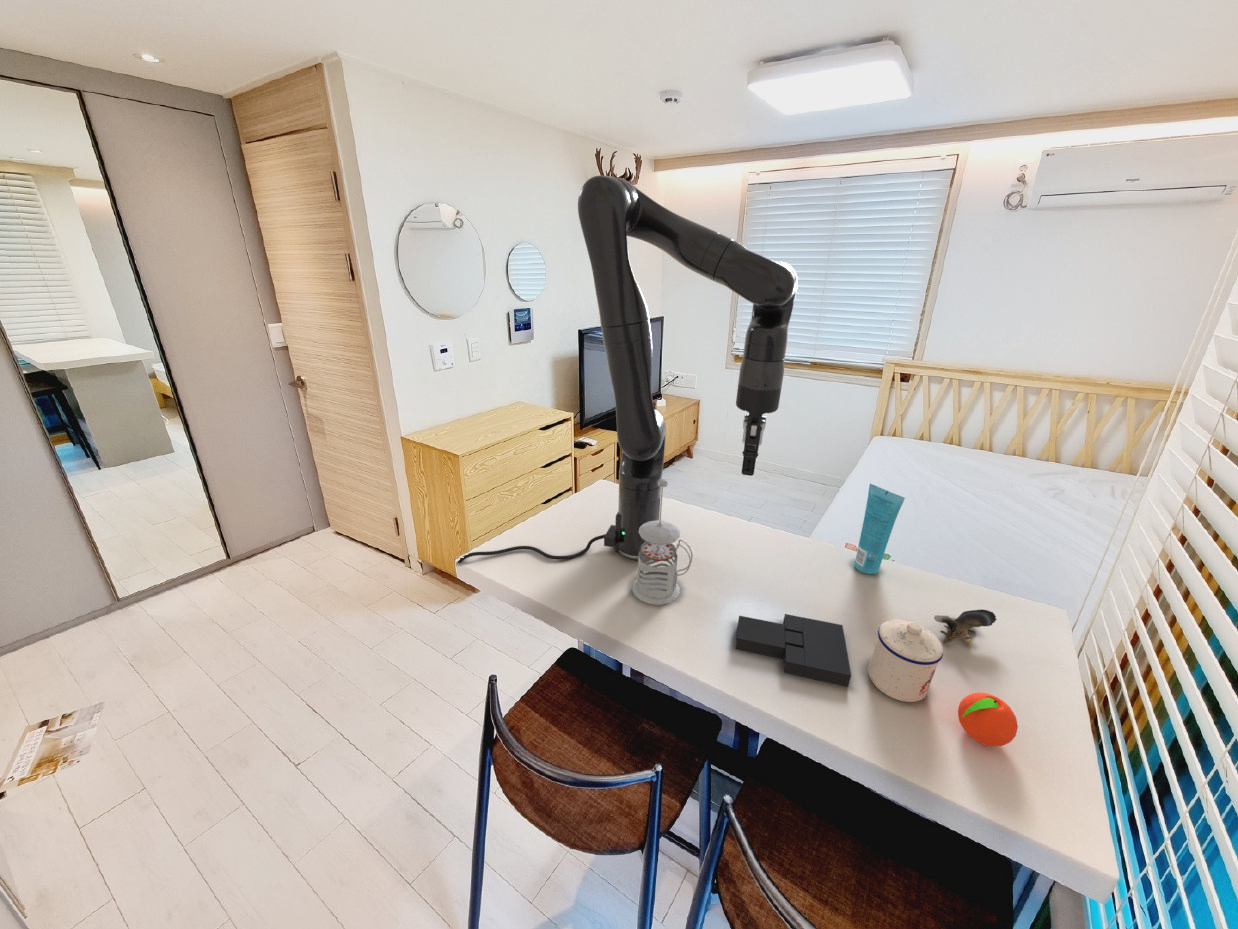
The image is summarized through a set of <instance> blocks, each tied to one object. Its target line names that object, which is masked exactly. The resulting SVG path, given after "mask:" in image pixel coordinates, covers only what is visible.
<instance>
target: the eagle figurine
mask: <svg viewBox="0 0 1238 929" xmlns="http://www.w3.org/2000/svg"><path fill="white" fill-rule="evenodd" d="M933 619H934V621H935V622H937V623H942V624H945V625H943V627H944V628H945V629H946V631H944V630H939V631H940V633H941V634H944V636H945V638H944V640H943V641H942V643H943V644H946V643H951V642H953V641H954V640H958V639H959V640H964V641H965V642H966V643H967V644H968V645H969V646H972V643H971V642H972V637H971V636H970V635H969V633H968V631H972V632H975V633H977V630H976V629H975V628H980V627H991V626H992V625H993V624H994V623H996V621H997V620H998V619H997V615H996V613H995V612H994V611H991V610H987V609H971V610H965V611H963V612H962V613H960V614H959V616H957V617H950V616H949V615H943V614H941V615H940V614H937V615H936V614H935V615H934V616H933Z"/></svg>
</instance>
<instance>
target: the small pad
mask: <svg viewBox="0 0 1238 929" xmlns="http://www.w3.org/2000/svg"><path fill="white" fill-rule="evenodd" d="M736 627H737V629H736V639H735V650H738V651H742V652H743V651H744V652H748V653H752V654H757V655H762V656H766V657H771V658H775V659H781V660H783V656H784V651H785V645H790V646H795V647H800V648H803V637H802V634H801V633H796V632H791V631H786V630H785V627H784V624H783V623H781V622H780V623H779V622H774V621H769V620H765V619H760V618H759V619H758V618H754V617H749V616H744V615H739V616H738V620H737V626H736Z"/></svg>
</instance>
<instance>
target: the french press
mask: <svg viewBox="0 0 1238 929" xmlns="http://www.w3.org/2000/svg"><path fill="white" fill-rule="evenodd" d="M668 485H669V484H668V480H667V479H665V478H662V479H660V480H658V486H660V487H661V499H660V516H659V520H657V521H649V522H647V523H644V524H643V525H642V526H641V527H640V528H639V531H638V532H639V534H640V536H641V538H642V539H644V540H645V541H646V542H644V543H643V544H642V545H641V548H640V551H639V557H638V560H637V561H638V562H637V578H636V579H635V581H633V583H632V588H631V591H632V593H633V595H634V596H635V597H636V598H637V599H638V600H639V601H641V602H643V603H646V604H649V605H657V606H662V605H669V604H670V603H672V602H674V601H676V600H677V599H678V597H679V596H680V594H681V593H680V592H681V588H680V586H679V585H678V583H677V580H678V577H679V576H684V575H685V574H687V572H688V571H689V570H690V568H691V564H692V562H693V556H694V554H693V551H692V549H691V546H690V545H689V544H688V543H687V542H686V541H685V540H683V539H680V537H681V530H680V529H679V527H678V526H676V525H675V524H673V523H672V522H668V521H665V520H662V508H663V507H662V506H663V493H664V492H663V491H664V488H666V487H668ZM676 541H678V543H677V544H676V546H675V544H673V543H675V542H676ZM681 542H682V543H684V544H685V545H686V546H687V548H688V549H689V551H690V553H689V551H688V550H687V548H685V546H683V545H682V544H681ZM680 548H682V549H683V550H684V551H685V552H686V553H687V556H688V560H689V562H688V565H687V567H684V568H681V569H677V565H678V554H677V551H678V550H679V549H680ZM644 556H645V557H646V558H644ZM650 560H651V561H650ZM647 561H649V562H647ZM659 562H660V563H659ZM665 562H667V563H668V564H669V565H668V564H667V563H665ZM656 563H657V564H656ZM653 564H654V565H653ZM682 571H684V572H683V573H679V572H682Z"/></svg>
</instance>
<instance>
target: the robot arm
mask: <svg viewBox="0 0 1238 929" xmlns="http://www.w3.org/2000/svg"><path fill="white" fill-rule="evenodd" d="M577 214H578V220H579V224H580V228H581V232H582V235H583V239H584V242H585V246H586V251H587V254H588V258H589V262H590V267H591V270H592V271H591V272H592V276H593V284H594V290H595V296H596V301H597V307H598V313H599V314H598V315H599V322H600V328H601V335H602V342H603V347H604V351H605V356H606V362H607V366H608V373H609V375H610V381H611V385H612V389H613V394H614V395H613V396H614V403H615V418H616V437H617V443H618V446H619V449H620V450H621V458H620V464H619V465H620V466H619V470H618V504H617V505H618V507H617V508H618V511H617V512H616V514H615V520H614V522H615V525H614V524H610V526H609V527H608V529H607V531H606V533H604V534H601V535H597V536H594V537H593V538H591V539H590V540H589V541H588V542H587V545H586V547H585V548H584V549H582V550H581V551H579V552H577V553H574V554H569V555H552V554H549V553H547V552H544V550H541V549H540V548H537V547H534V546H532V545H531V546H530V545H517V546H511V547H507V548H503V549H497V550H491V551H473V552H470V553H467V554H468V555H466V554H464V555H463V556H462V557H464V558H461V557H460V558H459V559H460V560H459V559H458V560H459V561H458V560H457V561H458V563H457V564H461V563H462V562H464V561H465V560H466V559H468V558H471V557H476V556H494V555H495V556H496V555H501V554H505V553H509V552H513V551H518V550H526V551H527V550H528V551H533V552H535V553H537V554H539V555H540V556H543V557H545V558H547V559H550V560H560V561H561V560H571V559H576V558H578V557H580V556H582V555H584V554H586V553H587V552H589V551H590V549H591V546H592V545H593V543H595V542H596V541H599V540H603V547H608V548H614V553H618V554H620V555H621V556H622V557H624V558H626V559H629V560H634V561H635V560H636V561H638V557H639V551H640V548H641V545H642V544H643V543H644V542H646V541H645V540H644V539H642V538H641V536H640V534H639V532H638V531H639V528H640V527H641V526H642V525H643V524H644V523H647V522H649V521H657V520H660V507H661V491H662V487H660V486H658V480H660V479H663V471H664V465H665V464H664V463H665V452H666V436H667V428H666V427H667V426H666V421H665V419H664V417H663V415H662V414H661V413H660V412H659V411H658V410H656V409H655V405H654V400H653V393H652V378H653V377H652V376H653V336H652V328H651V319H650V314H649V308H648V305H647V302H646V299H645V297H644V294H643V292H642V289H641V287H640V285H639V283H638V281H637V278H636V275H635V274H634V271H633V268H632V265H631V261H630V255H629V254H630V253H629V246H628V237H630V238H633V239H636V240H640V241H642V242H646V243H648V244H650V245H651V246H654V247H656V248H657V249H660V250H661V251H663V252H664V253H666V254H668V255H669V256H670V257H671V258H673V259H674V260H675V261H677V262H678V263H679V264H681V265H682V266H684V267H685V268H687V269H689V270H690V271H692V272H695V273H696V274H698V275H700V276H702V277H704V278H707V279H708V280H710V281H712V282H714V283H717V284H719V285H721V286H724V287H726V288H727V289H729V290H731V291H732V292H733V293H735V294H737V295H738V296H740V297H741V298H743V299H744V300H746V301H748V302H749V303H751V304H752V308H751V309H752V310H751V319H750V322H749V323H748V326H747V329H746V332H745V339H744V344H743V345H744V346H743V355H742V360H741V364H740V368H739V374H738V382H737V390H736V391H737V392H736V399H735V405H736V407H737V409H739V410H741V411H743V412H747V413H748V414H744V416H743V423H742V429H743V432H742V440H741V441H742V442H741V443H742V444H743V445H744V446H743V451H742V457H743V458H742V465H741V475H743V476H749V477H750V476H751V477H752V476H754V475H755V469H756V462H757V459H758V457H759V447H760V446H761V445H762V443H763V437H764V431H765V430H766V426H767V425H766V423H767V416H763V415H765V414H772V413H775V412H776V411H778V409H779V406H780V400H781V393H782V388H783V381H784V375H785V358H786V353H787V346H788V338H789V326H790V321H791V317H792V313H793V308H794V304H795V300H796V295H797V290H798V282H799V281H798V275H797V272H796V271H795V269H794V268H793V266H791V265H790V264H789V263H787V262H785V261H779V260H778V261H775V260H772V259H770V258H767V257H765V256H763V255H761V254H758V253H756V252H754V251H751V250H749V249H748V248H747V247H746V246H745V245H744V244H742V243H740V242H739V241H737V240H735V239H732V238H731V237H728V236H726V235H725V234H722V233H720V232H718V231H716V230H714V229H711V228H709V227H707V226H705V225H702V224H700V223H697V222H695V221H692V220H690V219H688V218H685V217H683V216H681V215H679V214H678V213H675V212H673V211H672V210H670V209H668V208H667V207H664V206H662V205H661V204H659V203H658V202H657V201H655V200H654V199H652V198H651V197H649V196H648V195H647V194H645V193H644V192H642V191H641V190H640V189H639V188H637V187H636V186H635V185H633V184H632V183H631V182H629V181H628V180H627V179H625V178H622V177H617V176H610V175H603V174H602V175H594V176H592V177H590V178H589V179H586V180H585V182H584V183H583V184H582V186H581V188H580V191H579V194H578V199H577ZM644 558H646V557H645V556H644Z"/></svg>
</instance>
